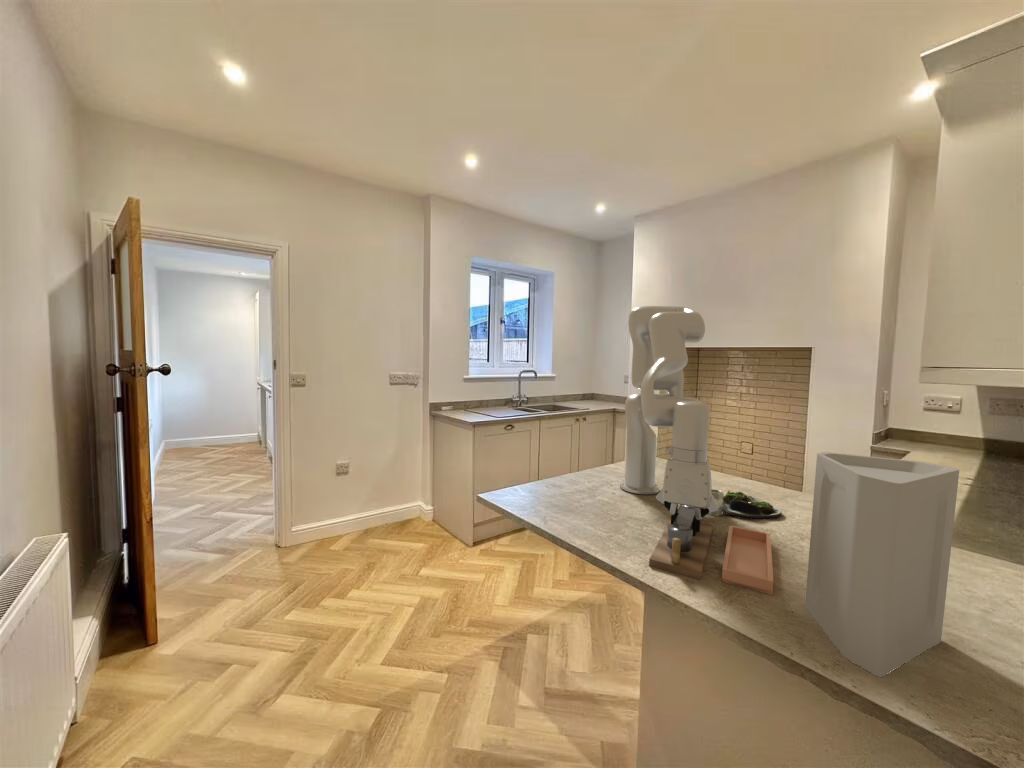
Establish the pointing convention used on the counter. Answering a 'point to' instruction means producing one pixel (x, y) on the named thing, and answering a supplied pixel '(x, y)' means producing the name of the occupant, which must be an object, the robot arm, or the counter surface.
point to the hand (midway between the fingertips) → (684, 531)
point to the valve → (718, 498)
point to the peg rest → (683, 553)
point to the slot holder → (748, 560)
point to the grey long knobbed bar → (682, 528)
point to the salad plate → (748, 507)
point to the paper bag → (880, 556)
